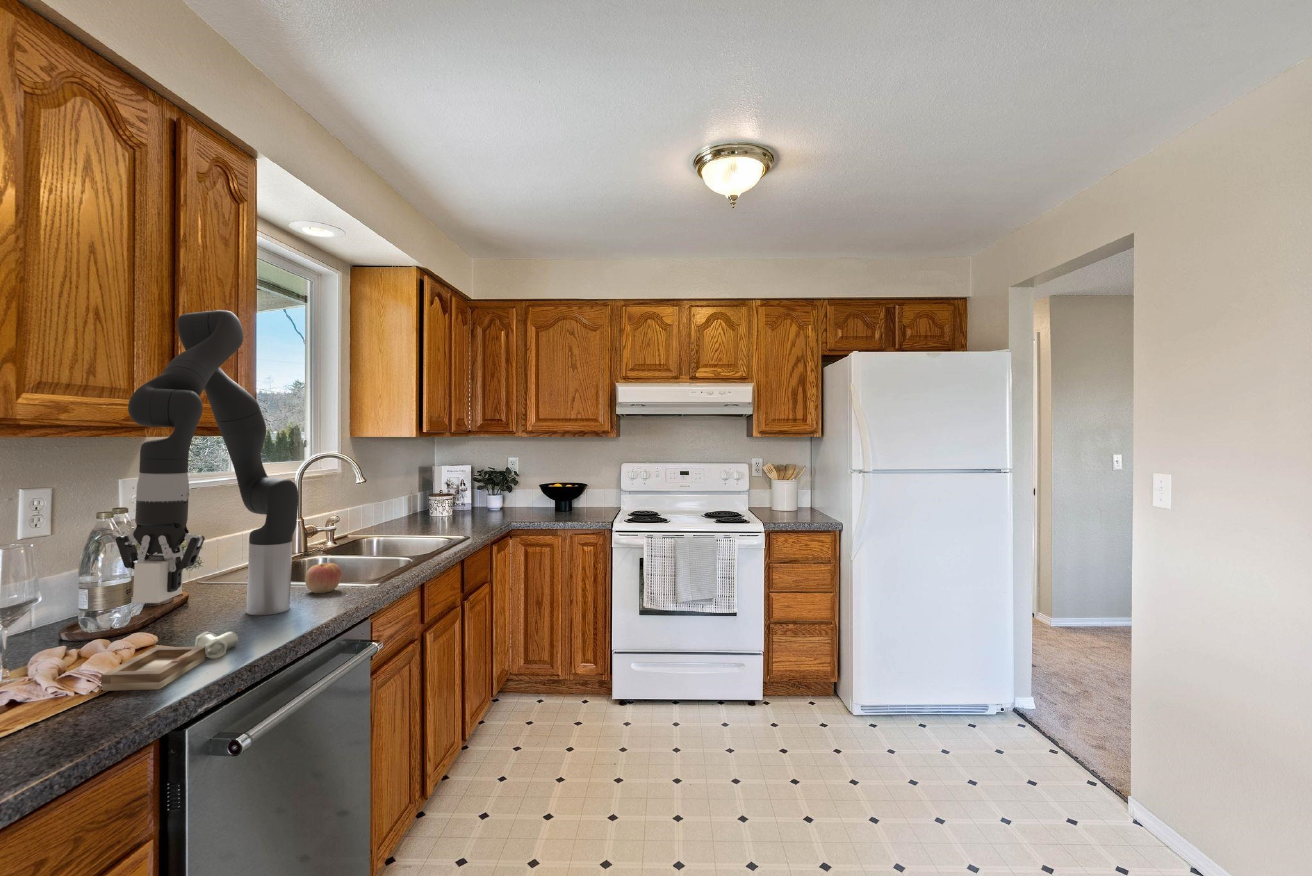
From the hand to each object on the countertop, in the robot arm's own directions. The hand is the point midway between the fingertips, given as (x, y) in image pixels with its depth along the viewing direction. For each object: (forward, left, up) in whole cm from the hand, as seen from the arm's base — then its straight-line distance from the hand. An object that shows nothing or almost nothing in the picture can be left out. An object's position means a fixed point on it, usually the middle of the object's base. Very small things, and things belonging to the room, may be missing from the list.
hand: (158, 590), depth 113 cm
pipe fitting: (-12, +5, -16) cm, 20 cm away
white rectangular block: (0, 0, -1) cm, 1 cm away
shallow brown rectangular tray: (0, 0, -15) cm, 15 cm away
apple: (-61, +7, -16) cm, 63 cm away
